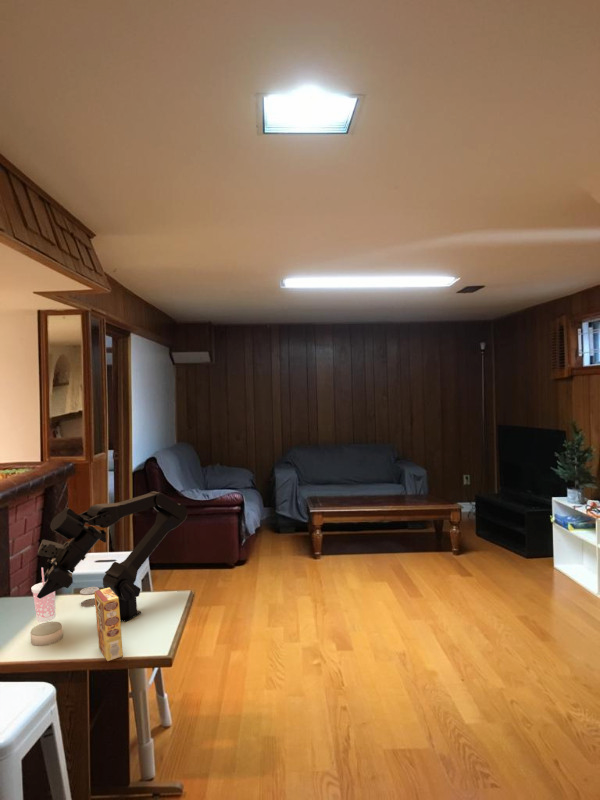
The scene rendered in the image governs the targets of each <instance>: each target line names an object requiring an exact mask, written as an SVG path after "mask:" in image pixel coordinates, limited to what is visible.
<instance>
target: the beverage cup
mask: <svg viewBox="0 0 600 800" xmlns="http://www.w3.org/2000/svg"><path fill="white" fill-rule="evenodd" d="M44 575H45V572H44V567H42V566H41V578H42V579H41V581H42V583H40V582H39V583H36V584H34V585H32V586H31V588H30V589H31V593H32V596H33V602H34V608H35V615H36V621H37V622H39V623H46V622H51V621H53V620H54V619H55V618H56V615H57V614H56V591H54V592H52V593H50V594H48V595H46V596H45V597H43V598H41V599H39V598H38V597H37V595H38V593H39V592H40V590H41V589H42V587H43V585H44V584H45V582H44Z"/></svg>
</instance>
